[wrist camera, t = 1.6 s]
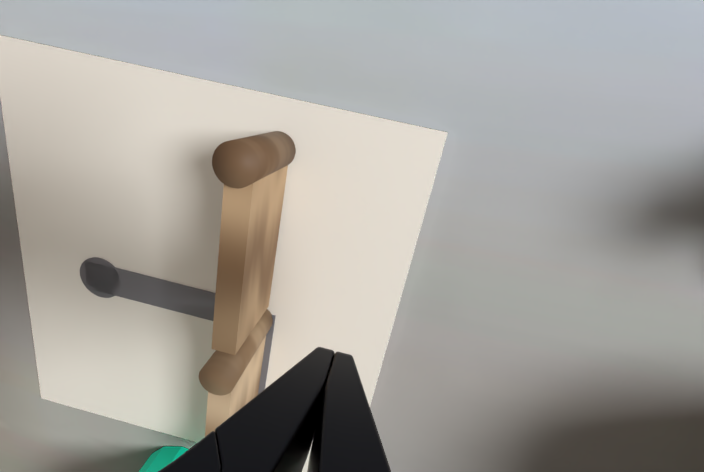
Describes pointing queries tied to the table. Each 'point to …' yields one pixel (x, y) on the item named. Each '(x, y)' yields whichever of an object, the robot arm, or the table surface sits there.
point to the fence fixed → (234, 376)
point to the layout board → (194, 228)
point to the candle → (162, 458)
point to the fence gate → (248, 231)
